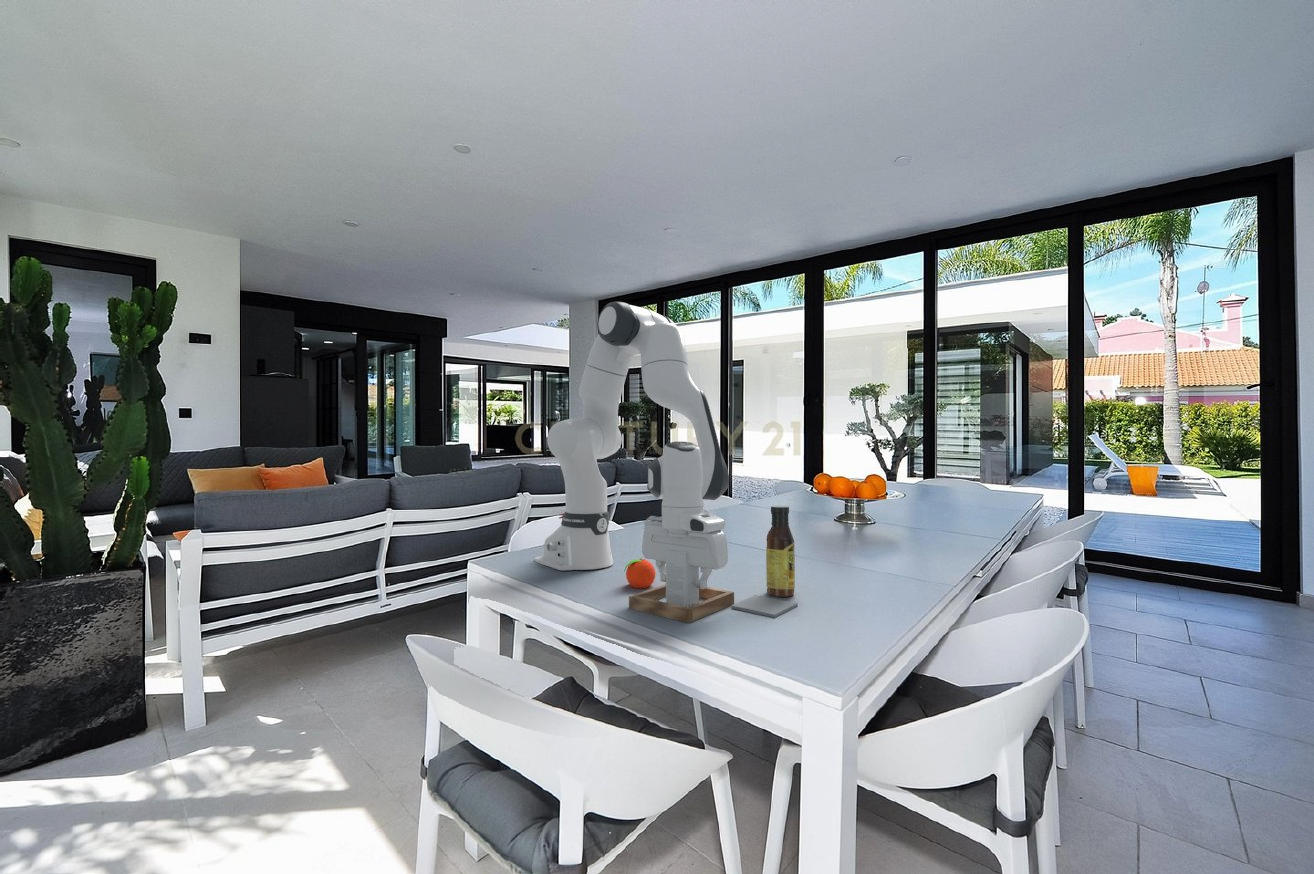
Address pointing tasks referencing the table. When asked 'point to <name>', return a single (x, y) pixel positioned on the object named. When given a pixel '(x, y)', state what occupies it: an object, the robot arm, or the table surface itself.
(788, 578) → the sauce bottle
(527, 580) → the table surface
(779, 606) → the slate pad
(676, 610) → the frame
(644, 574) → the clementine
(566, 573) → the table surface
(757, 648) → the table surface
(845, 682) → the table surface
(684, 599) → the skincare box
